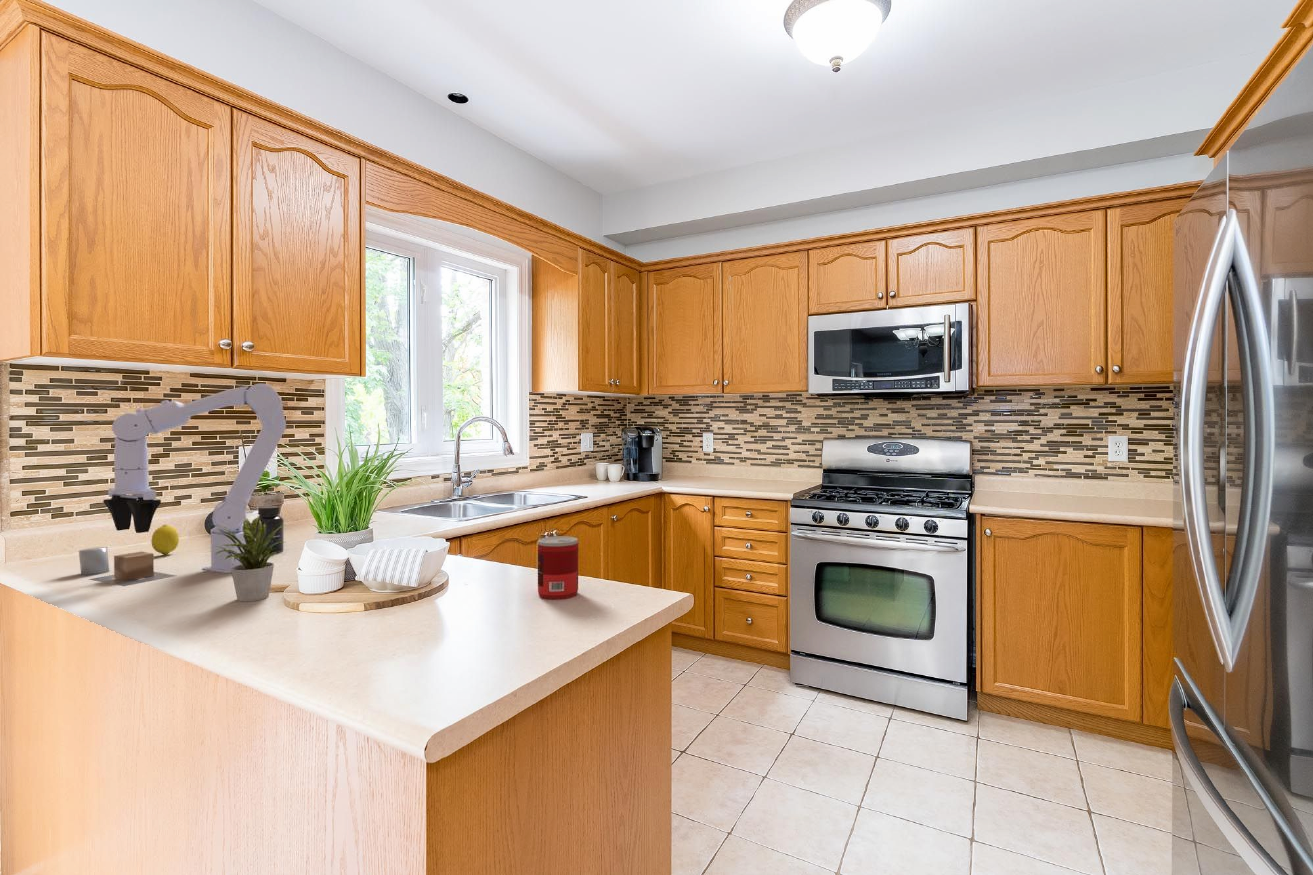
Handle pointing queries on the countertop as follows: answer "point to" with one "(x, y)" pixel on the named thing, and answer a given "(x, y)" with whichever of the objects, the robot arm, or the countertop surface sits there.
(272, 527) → the supplement bottle
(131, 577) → the walnut cube
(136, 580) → the letter card
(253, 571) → the house plant
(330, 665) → the countertop surface
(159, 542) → the lemon
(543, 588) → the canned food
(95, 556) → the grey jar
